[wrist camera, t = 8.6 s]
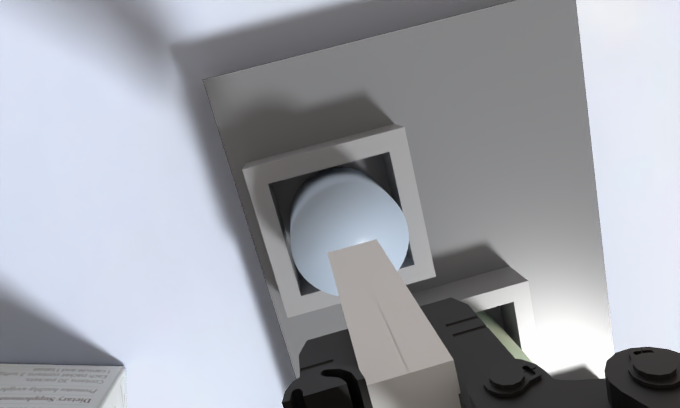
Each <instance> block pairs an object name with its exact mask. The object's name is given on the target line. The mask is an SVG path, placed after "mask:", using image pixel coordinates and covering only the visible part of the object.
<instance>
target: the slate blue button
mask: <svg viewBox="0 0 680 408" xmlns="http://www.w3.org/2000/svg"><path fill="white" fill-rule="evenodd" d="M290 238H291V251H292V256H293V259H294V262H295V265H296V266H297V268H298V270H299V272H300V273H301V274H302V276H303V277H304V278H305V279H306V280H307V281H308V282H309V283H310V284H311V285H313V286H314V287H316V288H317V289H319V290H321V291H323V292H325V293H328V294H332V295H336V296H339V294H338V290H337V286H336V283H335V279H334V275H333V272H332V268H331V264H330V261H329V257H328V252H332V251H335V250H339V249H342V248H346V247H350V246H353V245H357V244H361V243H364V242H368V241H371V240H375V239H377V241H378V242H379V244H380V245H381V247H382V248H383V250H384V252H385V253H386V255H387V256H388V258H389V259H390V261H391V263H392V264H393V266H394V267H395V269H396V270H397V271H398V270H399V269H400V267H401V265H402V263H403V262H404V259H405V257H406V254H407V250H408V244H409V231H408V225H407V222H406V219H405V216H404V214H403V212H402V210H401V209H400V207H399V206H398V204H397V203H396V202H395V201H394V200H393V199H392V198H391V197H390V196H389V195H388V194H387V192H386V191H385V190H384V189H383V188H382V187H381V186H380V185H379V184H378V183H377V182H376V181H375V180H374V179H373V178H371V177H370V176H368V175H367V174H365V173H363V172H361V171H359V170H356V169H352V168H346V167H337V168H330V169H326V170H323V171H321V172H319V173H316V174H315V175H313V176H312V177H310V178H309V179H308V180H307V181H305V182H304V184H303V185H302V186H301V187H300V188H299V190H298V191H297V193H296V195H295V197H294V199H293V202H292V205H291V210H290Z"/></svg>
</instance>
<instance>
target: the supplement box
mask: <svg viewBox="0 0 680 408" xmlns="http://www.w3.org/2000/svg"><path fill="white" fill-rule="evenodd" d="M0 408H127V388H126V368H125V367H124V366H84V365H43V364H0Z"/></svg>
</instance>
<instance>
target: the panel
mask: <svg viewBox="0 0 680 408" xmlns="http://www.w3.org/2000/svg"><path fill="white" fill-rule="evenodd" d="M203 82H204V86H205V89H206V92H207V95H208V98H209V102H210V105H211V108H212V111H213V114H214V118H215V121H216V124H217V127H218V130H219V133H220V137H221V140H222V143H223V146H224V149H225V153H226V156H227V159H228V162H229V165H230V169H231V172H232V175H233V178H234V181H235V185H236V188H237V191H238V194H239V197H240V201H241V204H242V207H243V210H244V213H245V216H246V220H247V223H248V226H249V229H250V232H251V236H252V239H253V242H254V245H255V248H256V252H257V255H258V258H259V261H260V264H261V268H262V271H263V274H264V277H265V280H266V284H267V287H268V290H269V293H270V296H271V299H272V303H273V306H274V309H275V312H276V315H277V319H278V322H279V325H280V328H281V331H282V335H283V338H284V341H285V344H286V347H287V351H288V354H289V357H290V360H291V363H292V367H293V370H294V373H295V376H296V379H297V378H299V377H300V368H299V354H300V352H301V350H302V348H303V346H304V345H305V343H306V341H307V340H310V339H314V338H317V337H321V336H324V335H327V334H331V333H334V332H338V331H341V330H345V329H348V327H347V323H346V320H345V316H344V312H343V308H342V305H341V301H340V297H339V296H336V295H332V294H328V293H325V292H323V291H321V290H319V289H317V288H316V287H314V286H313V285H311V284H310V283H309V282H308V281H307V280H306V279H305V278H304V277H303V276H302V274H301V273H300V272H299V270H298V268H297V266H296V265H295V262H294V259H293V256H292V251H291V238H290V210H291V205H292V202H293V199H294V197H295V195H296V193H297V191H298V190H299V188H300V187H301V186H302V185H303V184H304V182H305V181H307V180H308V179H309V178H310V177H312V176H313V175H315V174H316V173H319V172H321V171H323V170H326V169H330V168H337V167H346V168H352V169H356V170H359V171H361V172H363V173H365V174H367V175H368V176H370V177H371V178H373V179H374V180H375V181H376V182H377V183H378V184H379V185H380V186H381V187H382V188H383V189H384V190H385V191H386V192H387V194H388V195H389V196H390V197H391V198H392V199H393V200H394V201H395V202H396V203H397V204H398V206H399V207H400V209H401V210H402V212H403V214H404V216H405V219H406V222H407V225H408V231H409V244H408V250H407V254H406V257H405V259H404V262H403V263H402V265H401V267H400V269H399V270H398V271H397V272H398V274H399V275H400V277H401V278H402V280H403V281H404V283H405V284H406V286H407V288H408V289H409V291H410V292H411V294H412V295H413V297H414V299H415V300H416V302H417V303H418V305H419V306H423V305H426V304H430V303H433V302H437V301H440V300H444V299H447V298H451V297H452V298H454V299H456V300H459V301H461V302H463V303H466V304H468V305H469V306H470V307H471V309H472V310H473V311H474V312H475V313H476V312H479V311H484V312H486V313H488V314H489V315H490V316H491V317H492V318H493V319H494V320H495V321H496V322H497V323H498V324H499V325H500V327H501V328H502V329H503V330H504V331H505V332H506V333H507V334H508V335H509V337H510V338H511V339H512V340H513V341H514V342H515V343H516V344H517V345H518V347H519V348H520V349H521V350H522V351H523V352H524V353H525V354H526V355H527V357H528V358H529V359H530V360H531V361H532V363H535V364H537V365H538V366H539V367H541V368H542V369H544V370H545V371H546V372H547V373H548V374H549V375H550V376H551V377H552V378H553V379H558V380H586V379H602V378H605V372H604V370H605V366H606V362H607V360H608V359H609V358H611V357H612V356H613V355H614V348H613V339H612V329H611V320H610V311H609V302H608V293H607V283H606V274H605V265H604V256H603V247H602V237H601V228H600V219H599V210H598V201H597V191H596V182H595V173H594V164H593V154H592V145H591V136H590V127H589V118H588V108H587V99H586V90H585V81H584V72H583V62H582V53H581V44H580V35H579V26H578V16H577V7H576V0H515V1H511V2H507V3H503V4H499V5H495V6H492V7H488V8H484V9H480V10H476V11H472V12H468V13H464V14H460V15H456V16H452V17H448V18H444V19H440V20H436V21H432V22H428V23H425V24H421V25H417V26H413V27H409V28H405V29H401V30H397V31H393V32H389V33H385V34H381V35H377V36H373V37H369V38H365V39H361V40H358V41H354V42H350V43H346V44H342V45H338V46H334V47H330V48H326V49H322V50H318V51H314V52H310V53H306V54H302V55H298V56H295V57H291V58H287V59H283V60H279V61H275V62H271V63H267V64H263V65H259V66H255V67H251V68H247V69H243V70H239V71H235V72H231V73H228V74H224V75H220V76H216V77H212V78H208V79H204V80H203Z"/></svg>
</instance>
